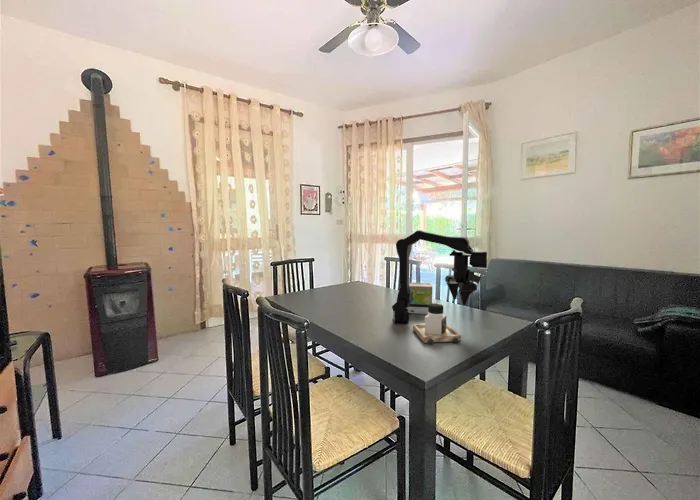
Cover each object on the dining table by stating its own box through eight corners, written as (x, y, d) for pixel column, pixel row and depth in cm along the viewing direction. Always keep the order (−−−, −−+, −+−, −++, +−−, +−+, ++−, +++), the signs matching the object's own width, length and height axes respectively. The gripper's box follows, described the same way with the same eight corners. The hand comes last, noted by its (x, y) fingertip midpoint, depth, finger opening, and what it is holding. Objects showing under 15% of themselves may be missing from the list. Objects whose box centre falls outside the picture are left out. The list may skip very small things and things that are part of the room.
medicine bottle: (441, 336, 122) (442, 307, 120) (424, 333, 125) (424, 305, 124) (446, 331, 128) (446, 303, 126) (429, 328, 131) (429, 301, 130)
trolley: (424, 344, 117) (425, 338, 117) (412, 329, 134) (412, 323, 134) (462, 342, 119) (462, 336, 118) (444, 327, 136) (444, 321, 135)
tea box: (402, 313, 157) (402, 285, 155) (401, 308, 167) (401, 281, 165) (432, 314, 155) (432, 286, 153) (429, 308, 165) (430, 282, 163)
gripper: (490, 270, 121) (488, 308, 123) (468, 263, 139) (467, 296, 141) (463, 270, 120) (462, 308, 122) (445, 263, 139) (444, 296, 140)
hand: (459, 302), depth 131 cm, fingers open, 9 cm apart
